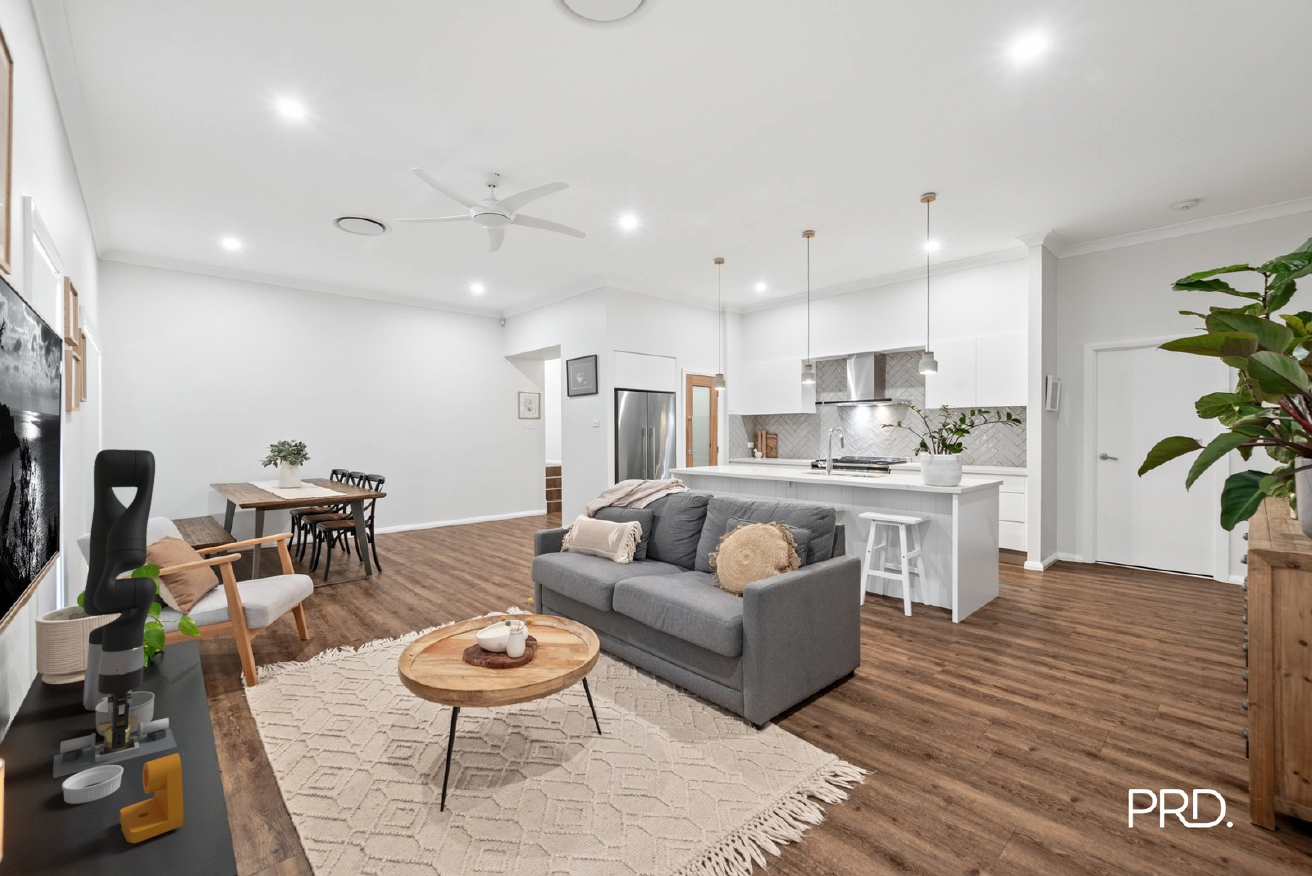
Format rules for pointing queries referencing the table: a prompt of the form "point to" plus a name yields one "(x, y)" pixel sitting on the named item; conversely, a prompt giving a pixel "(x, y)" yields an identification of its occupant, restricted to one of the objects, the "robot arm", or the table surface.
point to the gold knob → (108, 735)
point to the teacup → (139, 706)
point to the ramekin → (104, 774)
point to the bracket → (156, 801)
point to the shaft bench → (93, 756)
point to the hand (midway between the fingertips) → (117, 742)
